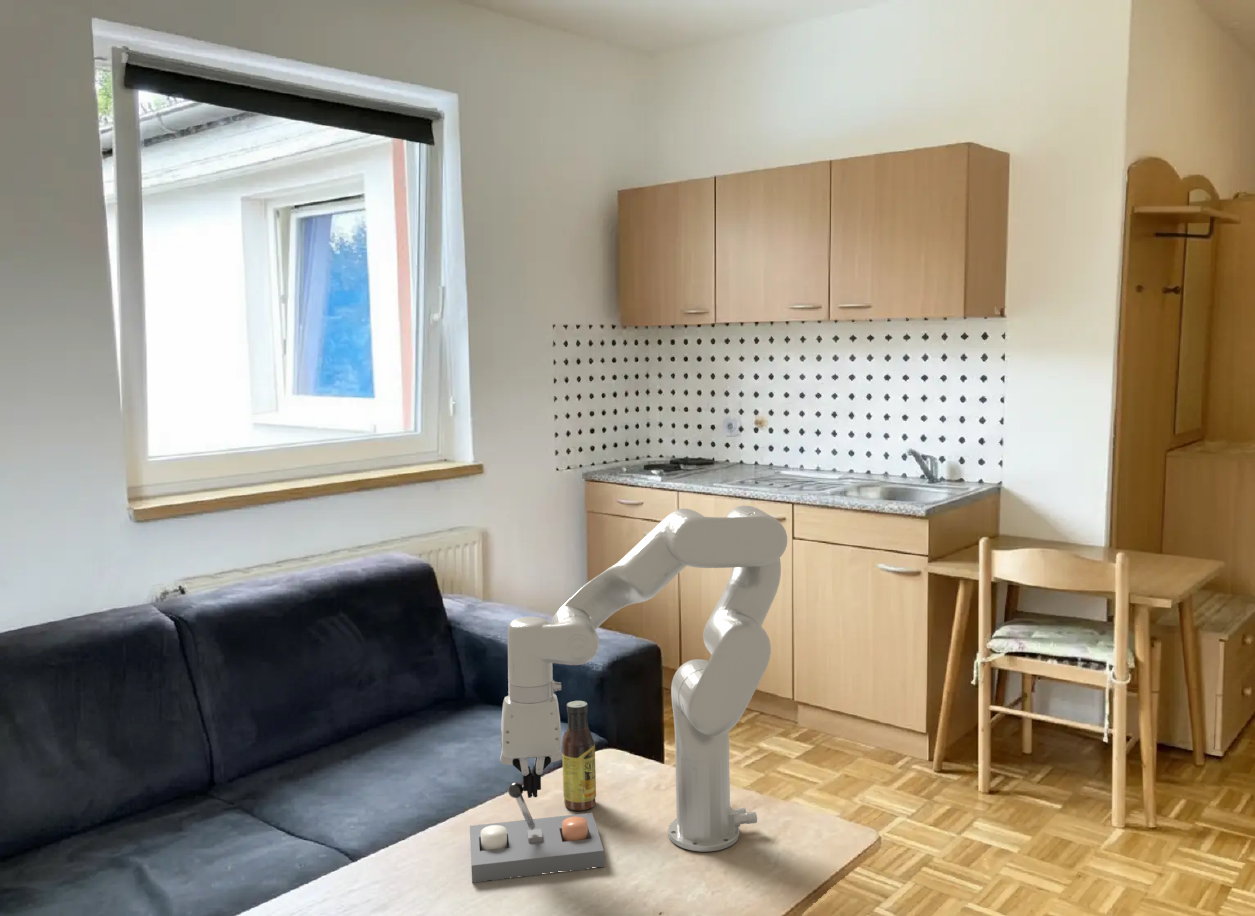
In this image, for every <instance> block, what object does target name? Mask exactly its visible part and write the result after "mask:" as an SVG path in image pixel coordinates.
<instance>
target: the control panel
mask: <svg viewBox="0 0 1255 916" xmlns="http://www.w3.org/2000/svg"><path fill="white" fill-rule="evenodd" d="M569 817H583V818H585V819H586V820H587V826H588V839H584V840H575V841H566V842H563V836H562V822H563V820H565V819H566V818H569ZM532 819H533V821H534V823H535V829H534V830H530V829H529V827H528V825H527V823H526V821H525V819H523V820H522V819H521V820H514V821H513V820H512V821H504V822H493V823H484V824H475V825H469V836H470V841H469V842H470V858H471V859H470V862H471V863H470V864H471V884H474V883H481V882H480V881H484V882H488V881H487V880H492V881H499V880H498V879H501V880H505V879H504V878H510V877H518V876H527V877H532V876H531V875H535V876H538V875H537V874H542V873H550V872H558V871H569V872H571V871H570V870H578V871H583V870H582V869H587V868H592V867H604V868H605V850H604V847H603V843H602V839H601V837H600V834H599V830H598V826H597V823H596V820H595V816H594V814H593V812H588V813H577V814H568V815H559V816H549V817H541V818H532ZM492 825H500V826H503V827H505V828H506V830H507V848H503V849H494V850H485V851H481V830H482V829H483V828H485V827H488V826H492ZM587 870H588V869H587ZM518 878H519V877H518ZM510 879H511V878H510Z"/></svg>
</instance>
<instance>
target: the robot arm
mask: <svg viewBox="0 0 1255 916" xmlns="http://www.w3.org/2000/svg"><path fill="white" fill-rule="evenodd" d="M787 546H788V535H787V531H786V529H785V527H784V526H783V524H782V523H781V521H780V520H778V519H777V518H775V517H774V516H772V515H771V514H769V513H766V512H765V511H764V510H761V509H760V508H757V507H755V506H751V505H739V506H736V507H734V508H732V509H731V510H730V511H729V512H728V513H727V515H726V516H725V517H723V516H722V517H719V516H717V517H715V516H714V517H713V516H704V515H703V514H701V513H700V512H698V511H695V510H693V509H689V508H679V509H676V510H674V511H672V512H671V513H669V514H667V516H666V517H664V518H663V519H662V520H661V521H660V522H659V523H658V524H657V525H656V526H655V527H654V528H652V529H651V530H650V532H649V533H647V535H646V534H645V536H644V537H643V538H642V539H641V540H640V541H639V542H638V543H637V544H636V545H635V546H634V547H633V548H631V550H629V551H628V552H627V553H626V554H625V555H624V556H623V557H622V558H621V559H619V560H618V561H617V562H616V563H615V564H613V565H612V566H609V567H608V568H607V569H606V570H604V571H603V572H601V573H600V574H598V575H596V576H595V577H593V578H592V579H591V580H590V581H588V582H586V583H585V584H584V585H583V586H581V588H579V589H578V590H577V591H576V592H575V593H574V594H573V595H572V596H571V597H570V598H569V599H568V600H567V601H566V602H564V604H562V605H561V606H560V607H559V609H558V610H557V611H556V612H555V614H554V615H553V616H552V619H551V622H550V621H549V620H547V619H546V618H544V617H539V616H523V617H518V618H515V619H513V620H511V621H510V623H509V624H508V627H507V679H508V680H507V681H508V682H507V683H508V684H507V685H508V686H507V687H508V691H507V693H508V695H507V696H504V699H503V702H502V710H501V722H500V723H501V724H500V745H501V746H500V747H501V752H500V753H501V754H500V755H499V761H500V763H501V764H502V765H507V766H508V765H509V766H513V767H514V768H516V769H517V770H518V771H519V772H521V774H522V786H523V792H526V794H527V798H529V799H530V798H532V797H533V798H538V791H541V790H542V774H543V772H544V770H545V769H546V768H547V767H548V766H549V765H550V764H551V763H555V762H558V761H562V758H563V755H562V752H563V750H562V727H561V726H562V724H561V715H560V709H559V702H558V701H559V700H558V697H557V695H556V692H557V691H562V682H561V681H559V682H558V681H555V680H554V679H553V676H554V675H553V664H559V665H565V666H566V665H567V666H568V665H569V666H581V665H585V664H587V663H589V662H591V661H592V660H594V659H595V657H596V656H597V654H598V652H599V650H600V639H599V635H598V632H597V629H598V628H599V627H600V626H601V625H602V624H603V623H604V622H605V621H607V619H609V618H610V617H611V616H612V615H614V614H615V613H617V611H620V610H621V609H623V608H626V606H630V605H634V604H639V603H645V602H647V601H650V600H651V599H653V598H654V597H655V596H657V594H659V592H661V590H663V589H664V588H665V587H666V586H667V585H668V584H669V583H670V582H671V581H672V580H673V579H674V578H675V577H676V576H677V575H679V573H680V572H681V571H683V570H684V569H685V568H686V567H692V568H698V569H699V568H700V569H716V568H717V569H725V568H726V569H727V568H730V569H732V570H731V573H730V576H729V579H728V580H727V583H726V585H725V587H724V589H723V591H722V593H721V595H720V597H719V599H718V601H717V603H716V605H715V607H714V609H713V610H712V612H711V614H710V616H709V618H708V620H707V622H706V623H705V625H704V629H703V632H702V640H703V644H704V645H705V648H706V650H707V651H708V652H709V654H710V655H711V656H710V658H709V660H706V659H701V658H699V659H697V658H695V659H691V660H688V661H686V662H684V663H683V664H681V665H680V666H679V667H678V668H677V670H676V671H675V674H673V677H672V680H671V688H670V689H671V691H670V694H671V695H670V696H671V705H672V712H673V714H672V716H673V724H674V725H673V726H674V743H675V745H674V746H675V747H674V749H675V751H674V756H675V758H674V759H675V794H676V796H675V799H676V800H675V801H676V819H674V820H673V821H671V823H670V824H669V825H668V829H667V831H668V833H667V834H668V838H669V839H670V841H671V842H672V843H673V844H675V845H676V846H677V847H680V848H681V849H685V850H688V851H692V852H701V853H702V852H705V853H707V852H716V851H721V850H725V849H727V848H729V847H731V846H733V845H734V844H735V843H737V841H738V840H739V838H740V827H741V825H745V824H747V825H751V824H757V823H758V815H757V812H756V811H749V812H747V810H746V809H747V808H746V807H739V808H733V807H731V790H730V789H731V784H730V783H731V782H730V781H731V779H730V772H731V771H730V734H729V733H730V731H731V730H732V729H733V728H734V727H735V726H736V724H738V722H739V721H740V720H741V718H742V716H744V715H743V714H744V713H745V711H746V709H747V707H748V705H749V703H750V702H751V700H752V698H753V696H754V693H755V692H756V690H757V688H758V686H759V684H760V682H761V680H762V678H763V676H764V675H765V672H766V671H767V668H768V666H769V662H770V659H771V651H772V650H771V649H772V646H771V641H770V638H769V635H768V633H767V631H766V630H765V629H764V628H763V624H764V622H765V619H766V617H767V616H768V613H769V611H770V609H771V607H772V603H773V602H774V599H775V597H776V595H777V593H778V589H779V585H780V582H781V575H782V574H781V573H782V566H781V565H782V563H781V557H782V556H783V555H784V553H785V551H786V549H787ZM534 758H535V760H534V765H533V766H532V769H531V767H530V766H529V763H528V759H534Z"/></svg>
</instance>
